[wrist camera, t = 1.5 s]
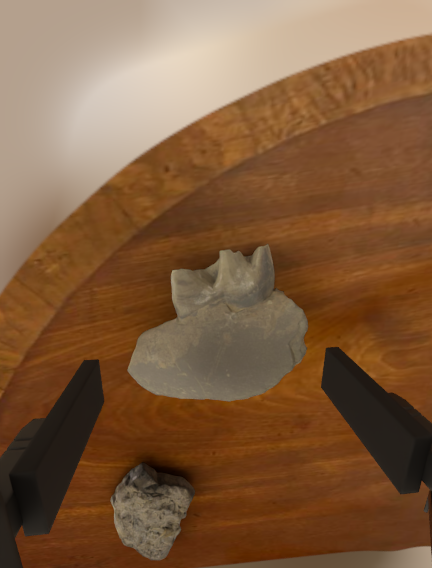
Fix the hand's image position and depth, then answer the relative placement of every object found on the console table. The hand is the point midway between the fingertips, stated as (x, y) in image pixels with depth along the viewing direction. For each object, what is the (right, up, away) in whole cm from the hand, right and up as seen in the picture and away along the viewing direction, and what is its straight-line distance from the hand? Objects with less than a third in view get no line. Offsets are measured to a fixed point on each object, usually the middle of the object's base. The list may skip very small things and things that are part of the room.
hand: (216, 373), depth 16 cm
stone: (-7, -19, +15) cm, 26 cm away
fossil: (-1, +3, +9) cm, 10 cm away
